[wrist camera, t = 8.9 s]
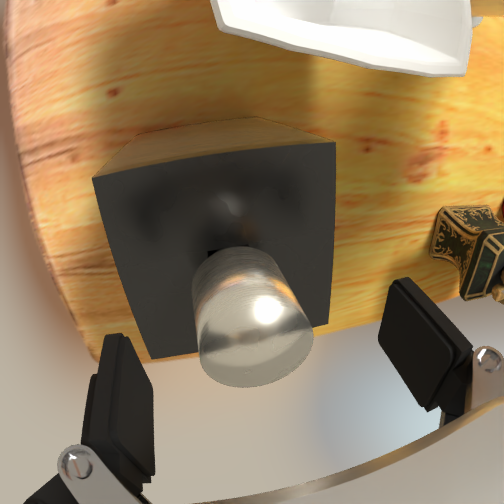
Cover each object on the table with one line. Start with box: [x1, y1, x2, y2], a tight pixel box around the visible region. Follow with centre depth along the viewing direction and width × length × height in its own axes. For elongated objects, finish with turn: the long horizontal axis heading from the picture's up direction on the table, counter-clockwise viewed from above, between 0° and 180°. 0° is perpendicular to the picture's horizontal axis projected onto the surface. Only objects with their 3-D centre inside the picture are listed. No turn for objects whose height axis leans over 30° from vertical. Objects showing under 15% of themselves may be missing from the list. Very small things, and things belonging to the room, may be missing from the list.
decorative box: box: [429, 205, 504, 304], centre depth 31 cm, size 20×10×20 cm, turn 91°
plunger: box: [192, 246, 313, 388], centre depth 19 cm, size 9×9×20 cm
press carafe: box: [92, 117, 336, 359], centre depth 23 cm, size 14×11×16 cm
